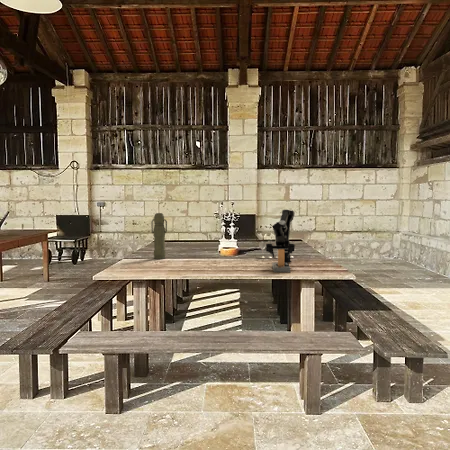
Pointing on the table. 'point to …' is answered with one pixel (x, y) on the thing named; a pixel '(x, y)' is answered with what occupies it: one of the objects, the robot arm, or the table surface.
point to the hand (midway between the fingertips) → (280, 257)
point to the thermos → (159, 236)
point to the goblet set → (263, 244)
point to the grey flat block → (280, 267)
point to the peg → (281, 257)
